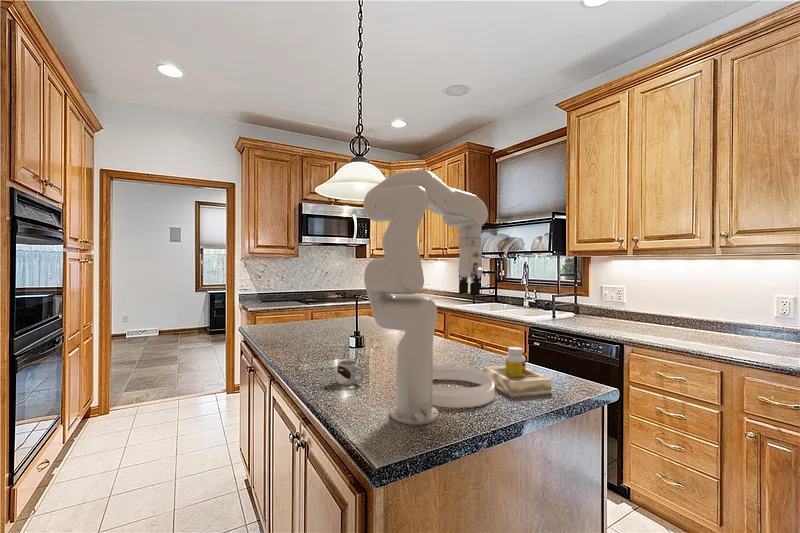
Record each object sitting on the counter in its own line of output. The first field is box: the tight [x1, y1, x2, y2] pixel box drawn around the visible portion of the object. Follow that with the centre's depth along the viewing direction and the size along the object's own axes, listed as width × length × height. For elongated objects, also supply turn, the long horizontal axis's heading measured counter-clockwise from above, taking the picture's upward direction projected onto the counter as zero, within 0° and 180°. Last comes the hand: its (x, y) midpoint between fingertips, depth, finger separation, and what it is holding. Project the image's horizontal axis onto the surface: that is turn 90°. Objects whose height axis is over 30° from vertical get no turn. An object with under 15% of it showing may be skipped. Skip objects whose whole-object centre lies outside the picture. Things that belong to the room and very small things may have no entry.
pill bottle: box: [504, 346, 527, 377], centre depth 129 cm, size 6×6×12 cm
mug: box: [336, 360, 365, 386], centre depth 130 cm, size 10×7×7 cm, turn 60°
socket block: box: [483, 365, 552, 398], centre depth 129 cm, size 18×14×5 cm
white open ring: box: [432, 364, 496, 409], centre depth 123 cm, size 27×27×6 cm
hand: (468, 294), depth 132 cm, fingers open, 9 cm apart
